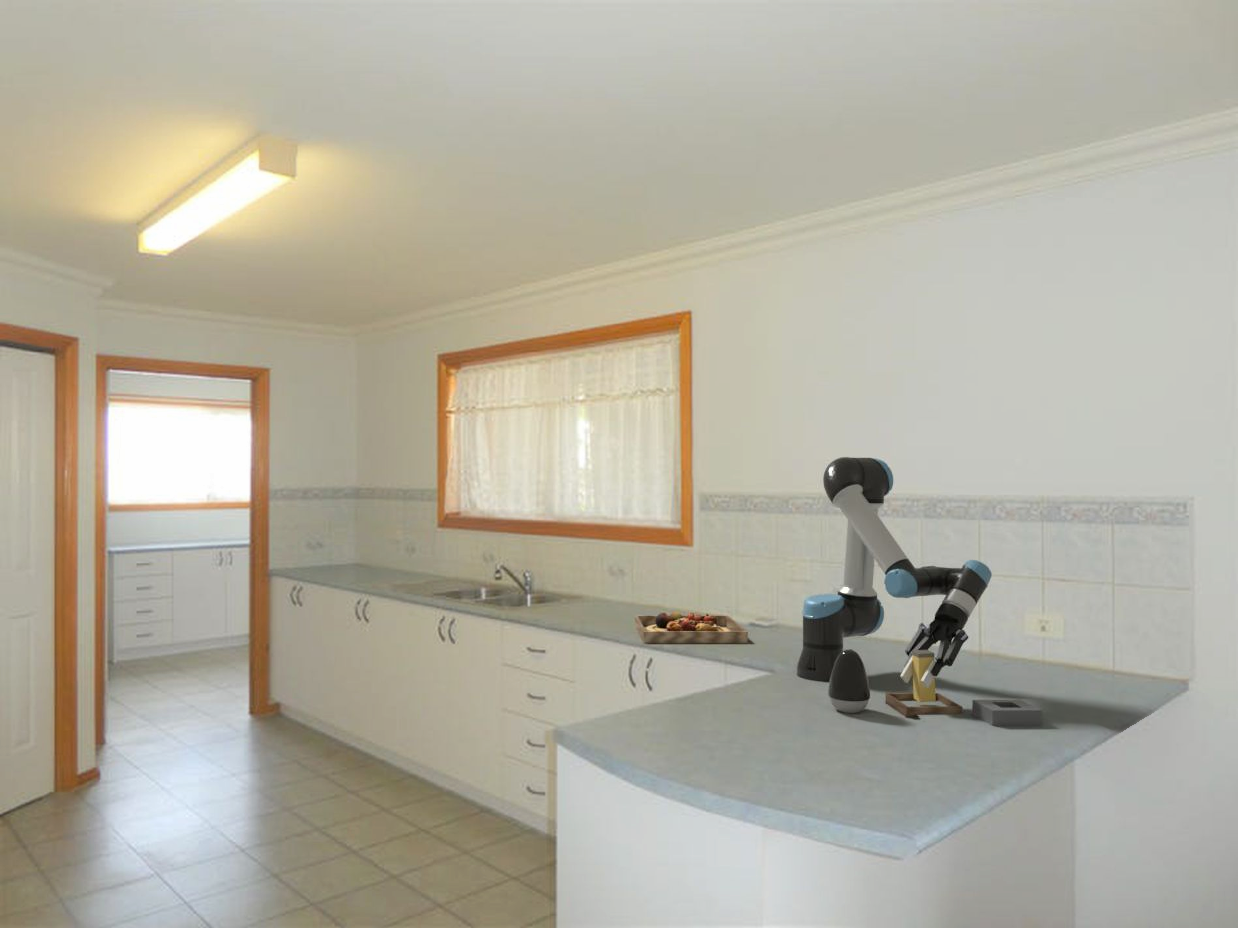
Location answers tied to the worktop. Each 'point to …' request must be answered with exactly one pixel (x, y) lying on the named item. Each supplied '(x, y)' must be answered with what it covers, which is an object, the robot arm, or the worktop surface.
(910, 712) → the tray
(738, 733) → the worktop surface
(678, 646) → the worktop surface
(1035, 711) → the grey block with hole
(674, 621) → the wooden plate with food
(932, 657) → the plug
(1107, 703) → the worktop surface
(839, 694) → the black egg shaped container
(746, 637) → the wooden fruit tray
